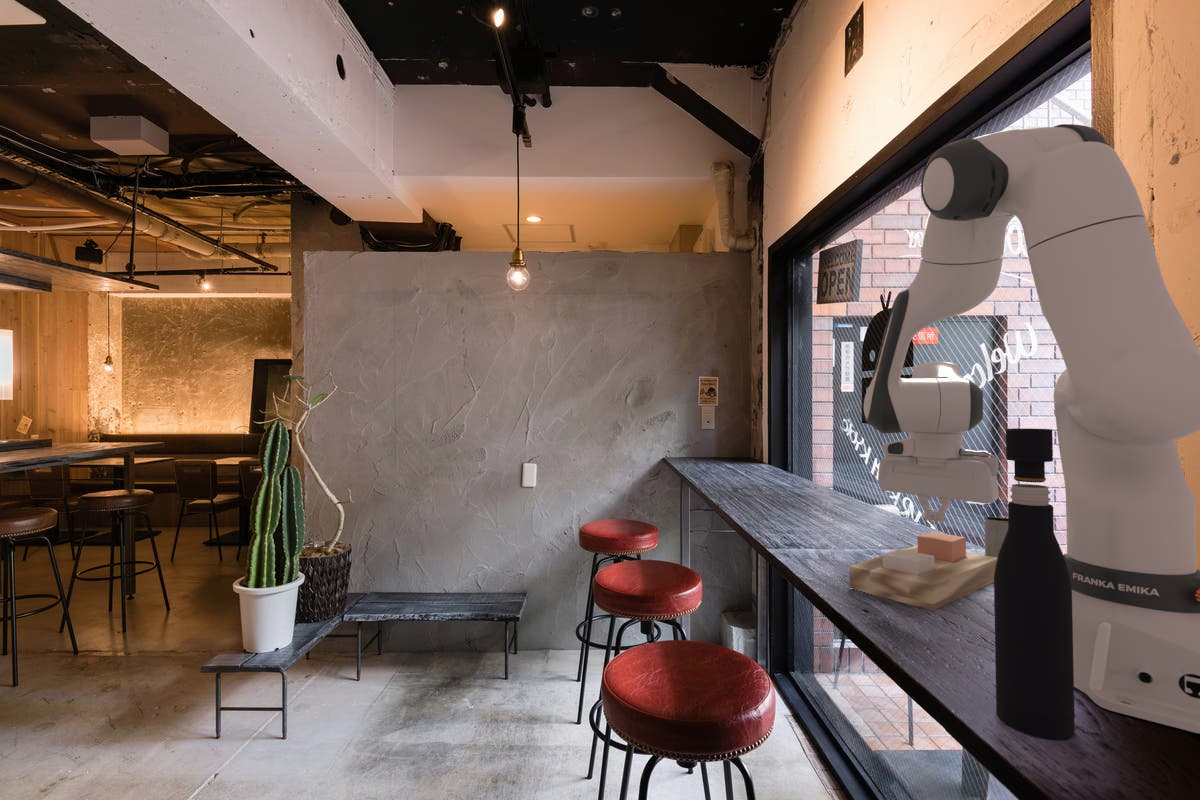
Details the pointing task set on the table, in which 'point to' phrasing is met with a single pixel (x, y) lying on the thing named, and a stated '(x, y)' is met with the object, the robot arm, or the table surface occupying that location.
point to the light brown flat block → (924, 580)
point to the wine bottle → (1033, 602)
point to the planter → (994, 534)
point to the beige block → (908, 562)
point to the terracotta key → (942, 546)
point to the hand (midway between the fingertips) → (934, 520)
